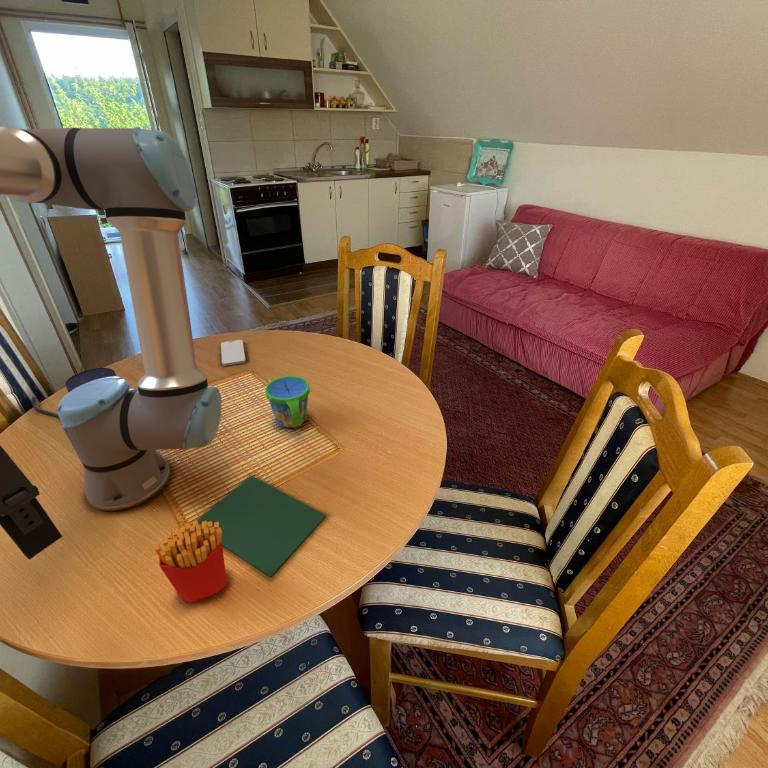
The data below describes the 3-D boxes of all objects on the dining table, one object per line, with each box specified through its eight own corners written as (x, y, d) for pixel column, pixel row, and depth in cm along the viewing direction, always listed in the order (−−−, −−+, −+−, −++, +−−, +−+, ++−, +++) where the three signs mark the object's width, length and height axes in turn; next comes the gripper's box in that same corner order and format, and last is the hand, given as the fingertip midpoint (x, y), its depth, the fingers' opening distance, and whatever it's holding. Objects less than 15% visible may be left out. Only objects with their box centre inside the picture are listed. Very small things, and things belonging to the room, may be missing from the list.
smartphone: (221, 364, 127) (220, 342, 139) (222, 367, 128) (220, 345, 139) (246, 360, 129) (242, 339, 141) (246, 363, 130) (243, 342, 142)
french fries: (176, 609, 64) (152, 557, 57) (175, 585, 68) (152, 533, 61) (237, 585, 68) (221, 533, 61) (233, 564, 71) (218, 512, 64)
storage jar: (81, 433, 99) (56, 381, 91) (122, 413, 106) (101, 363, 98) (103, 449, 95) (78, 395, 87) (144, 427, 102) (124, 375, 94)
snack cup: (317, 435, 100) (314, 401, 95) (272, 443, 98) (267, 408, 92) (307, 400, 113) (304, 368, 107) (268, 406, 110) (262, 373, 105)
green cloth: (191, 525, 77) (191, 524, 77) (251, 476, 88) (251, 475, 88) (270, 577, 69) (270, 576, 69) (326, 515, 80) (325, 514, 80)
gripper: (-282, 289, 30) (-96, 488, 42) (-179, 390, 20) (29, 616, 32) (-137, 262, 36) (-8, 445, 47) (2, 330, 25) (122, 542, 37)
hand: (7, 514), depth 40 cm, fingers open, 13 cm apart
